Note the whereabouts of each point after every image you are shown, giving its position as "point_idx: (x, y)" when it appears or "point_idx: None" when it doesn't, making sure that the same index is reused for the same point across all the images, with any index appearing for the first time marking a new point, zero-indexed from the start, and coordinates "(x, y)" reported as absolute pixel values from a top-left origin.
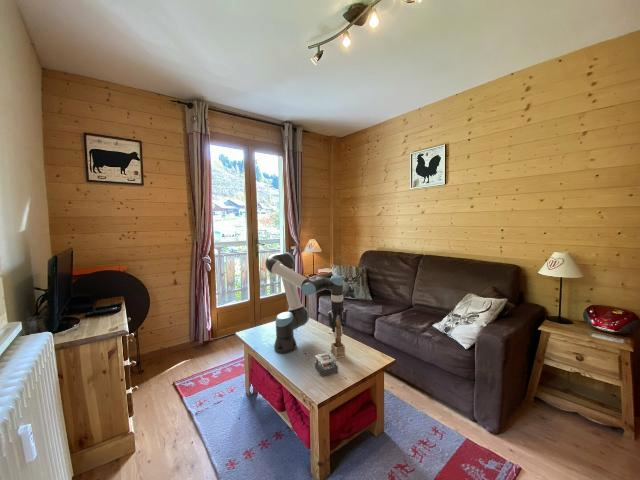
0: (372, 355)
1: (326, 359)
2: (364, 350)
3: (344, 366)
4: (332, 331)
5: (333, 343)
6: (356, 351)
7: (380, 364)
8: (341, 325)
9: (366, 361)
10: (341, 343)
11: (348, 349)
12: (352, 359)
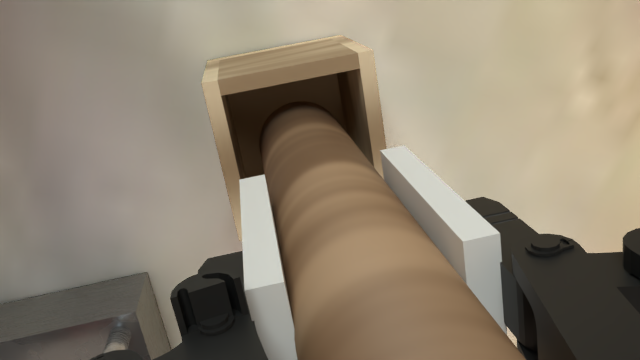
0: (636, 207)
1: (79, 344)
2: (619, 90)
3: None
4: (204, 264)
5: (243, 89)
6: (526, 87)
7: None
8: (508, 315)
9: None
10: (369, 124)
11: (458, 12)
12: None
